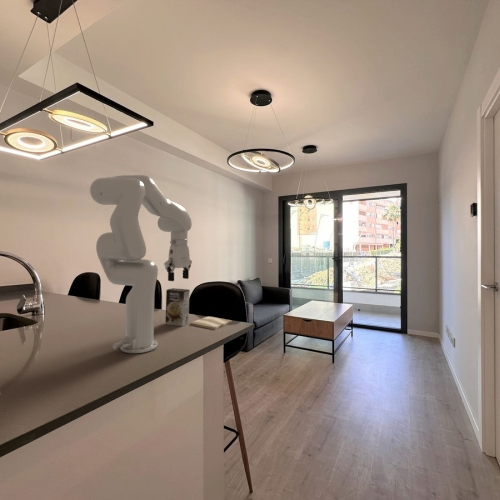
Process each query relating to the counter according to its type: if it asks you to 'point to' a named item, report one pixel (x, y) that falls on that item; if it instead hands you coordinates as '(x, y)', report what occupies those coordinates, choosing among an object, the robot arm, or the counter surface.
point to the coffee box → (177, 306)
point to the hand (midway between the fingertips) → (178, 279)
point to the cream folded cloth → (211, 322)
